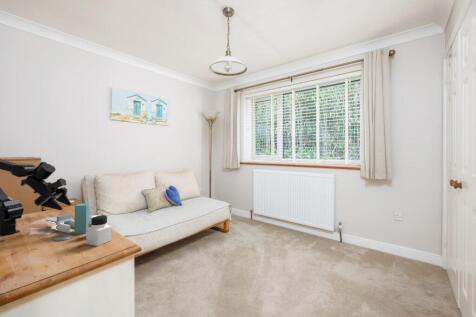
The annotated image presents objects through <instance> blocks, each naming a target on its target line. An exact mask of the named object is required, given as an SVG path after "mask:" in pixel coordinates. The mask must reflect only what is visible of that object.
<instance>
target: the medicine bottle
mask: <svg viewBox="0 0 476 317" xmlns="http://www.w3.org/2000/svg"><path fill="white" fill-rule="evenodd" d="M97 215H98V216H94V217H92V219H91V226H92V227H89V228H87V229H86V233H85V236H86V237H85V244H86V245H90V246H94V247H100V246H102V245H104V243H105V244H106V243H109V242H111V241H112V233H113V232H112V230H113V229H112V228H113V227H112V225H109V224H108V216H107V215H104V214H97Z"/></svg>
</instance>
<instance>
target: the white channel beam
mask: <svg viewBox="0 0 476 317" xmlns="http://www.w3.org/2000/svg"><path fill="white" fill-rule="evenodd" d="M74 222H75V219H73V220H70V221H67V222H64V224H63V223H56V225H57V226H56V229H57V230H56V231H57V232H63V233H68V234H69V233H72V232H74Z"/></svg>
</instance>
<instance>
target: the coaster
mask: <svg viewBox="0 0 476 317" xmlns="http://www.w3.org/2000/svg"><path fill="white" fill-rule="evenodd" d="M72 238H73V235H72V234H63V235H62V234H61V235H58V236H55V237H53V241H54V242H64V241H68V240H70V239H72Z"/></svg>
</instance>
